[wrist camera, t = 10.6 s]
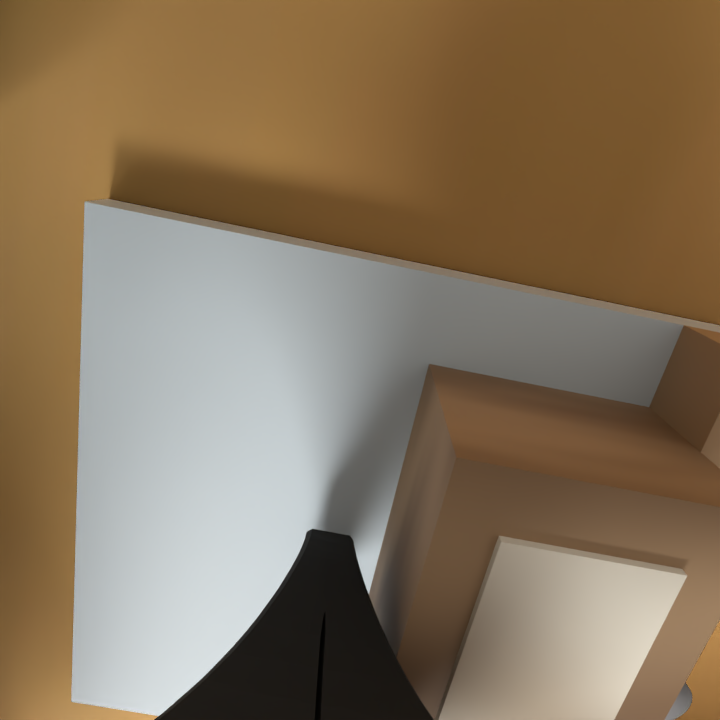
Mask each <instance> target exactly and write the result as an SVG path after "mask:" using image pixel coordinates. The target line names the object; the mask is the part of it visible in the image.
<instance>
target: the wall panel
mask: <svg viewBox="0 0 720 720" xmlns="http://www.w3.org/2000/svg"><path fill="white" fill-rule="evenodd" d="M429 364H433V365H438V366H443V367H448V368H453V369H458V370H463V371H468V372H473V373H478V374H483V375H488V376H493V377H499V378H504V379H509V380H514V381H519V382H524V383H529V384H534V385H539V386H544V387H549V388H554V389H559V390H565V391H570V392H575V393H580V394H585V395H590V396H595V397H600V398H605V399H610V400H615V401H620V402H625V403H630V404H636V405H641V406H646V407H649V408H651V409H652V410H653V411H654V412H655V413H656V414H657V415H659V416H660V417H661V418H662V419H663V420H664V421H665V422H667V423H668V424H669V425H670V426H671V427H672V428H674V429H675V430H676V431H677V432H678V433H679V434H680V435H682V436H683V437H684V438H685V439H686V440H687V441H688V442H690V443H691V444H692V445H693V446H694V447H695V448H697V449H698V450H699V451H700V452H701V453H702V454H703V455H705V456H706V457H707V458H708V459H709V460H710V461H711V462H713V463H714V464H715V465H716V466H717V467H718V468H720V325H716V324H711V323H706V322H701V321H697V320H692V319H687V318H682V317H677V316H672V315H668V314H663V313H658V312H653V311H648V310H643V309H639V308H634V307H629V306H624V305H619V304H614V303H610V302H605V301H600V300H595V299H590V298H585V297H581V296H576V295H571V294H566V293H561V292H556V291H552V290H547V289H542V288H537V287H532V286H527V285H523V284H518V283H513V282H508V281H503V280H498V279H494V278H489V277H484V276H479V275H474V274H469V273H465V272H460V271H455V270H450V269H445V268H440V267H436V266H431V265H426V264H421V263H416V262H411V261H407V260H402V259H397V258H392V257H387V256H382V255H378V254H373V253H368V252H363V251H358V250H353V249H349V248H344V247H339V246H334V245H329V244H324V243H320V242H315V241H310V240H305V239H300V238H295V237H291V236H286V235H281V234H276V233H271V232H266V231H262V230H257V229H252V228H247V227H242V226H237V225H233V224H228V223H223V222H218V221H213V220H208V219H204V218H199V217H194V216H189V215H184V214H179V213H175V212H170V211H165V210H160V209H155V208H150V207H146V206H141V205H136V204H131V203H126V202H121V201H117V200H112V199H101V200H93V201H85V208H84V245H83V283H82V320H81V358H80V395H79V433H78V470H77V508H76V545H75V583H74V620H73V658H72V695H71V702H76V703H82V704H88V705H94V706H100V707H107V708H113V709H119V710H125V711H131V712H137V713H144V714H150V715H156V716H160V715H161V714H162V713H163V712H164V711H166V710H167V709H168V708H169V707H170V706H171V705H172V704H174V703H175V702H176V701H177V700H178V699H179V698H180V697H182V696H183V695H184V694H185V693H186V692H187V691H188V690H190V689H191V688H192V687H193V686H194V685H195V684H196V683H197V682H199V681H200V680H201V679H202V678H203V677H204V676H205V675H206V674H207V673H208V672H209V671H210V670H211V669H212V668H213V667H214V666H215V665H216V664H217V663H218V662H219V661H220V660H221V659H222V657H223V656H224V655H225V654H226V653H227V652H228V651H229V650H230V649H231V648H232V647H233V646H234V645H235V644H236V642H237V641H238V640H239V639H240V638H241V637H242V636H243V634H244V633H245V632H246V631H247V630H248V628H249V627H250V626H251V625H252V623H253V622H254V621H255V620H256V618H257V617H258V616H259V615H260V613H261V612H262V610H263V609H264V608H265V606H266V605H267V604H268V602H269V601H270V599H271V598H272V597H273V595H274V594H275V593H276V591H277V590H278V588H279V586H280V585H281V583H282V582H283V580H284V578H285V577H286V575H287V574H288V572H289V570H290V569H291V567H292V565H293V563H294V561H295V560H296V558H297V556H298V554H299V552H300V550H301V547H302V545H303V542H304V540H305V536H306V532H307V531H309V530H311V529H317V530H322V531H328V532H333V533H339V534H344V535H350V536H351V538H352V539H353V541H354V547H355V551H356V556H357V560H358V563H359V567H360V570H361V573H362V577H363V580H364V583H365V586H366V589H367V591H368V594H369V592H370V588H371V584H372V580H373V576H374V573H375V569H376V565H377V561H378V557H379V553H380V550H381V546H382V542H383V538H384V534H385V530H386V527H387V523H388V519H389V515H390V511H391V507H392V504H393V500H394V496H395V492H396V488H397V485H398V481H399V477H400V473H401V469H402V465H403V462H404V458H405V454H406V450H407V446H408V442H409V439H410V435H411V431H412V427H413V423H414V419H415V416H416V412H417V408H418V404H419V400H420V397H421V393H422V389H423V385H424V381H425V377H426V374H427V370H428V366H429ZM691 703H692V693H691V691H690V689H689V687H688V686H687V684H686V682H685V684H684V686H683V687H682V689H681V691H680V693H679V695H678V696H677V698H676V700H675V702H674V704H673V705H672V707H671V709H670V711H669V713H668V714H667V716H666V718H665V720H674V719H676V718H678V717H680V716H681V715H683V714H684V713H685V712H686V711H687V710H688V708H689V707H690V705H691Z"/></svg>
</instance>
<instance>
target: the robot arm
mask: <svg viewBox="0 0 720 720" xmlns="http://www.w3.org/2000/svg"><path fill="white" fill-rule="evenodd" d="M155 720H434V719H433V717H432V716H431V715H430V713H429V712H428V710H427V709H426V707H425V706H424V704H423V703H422V701H421V700H420V698H419V696H418V695H417V693H416V691H415V690H414V688H413V686H412V685H411V683H410V681H409V680H408V678H407V676H406V674H405V673H404V671H403V669H402V667H401V665H400V664H399V662H398V660H397V658H396V656H395V654H394V652H393V650H392V648H391V646H390V644H389V642H388V640H387V637H386V635H385V633H384V631H383V629H382V626H381V624H380V622H379V620H378V617H377V615H376V612H375V610H374V607H373V605H372V602H371V599H370V597H369V594H368V591H367V589H366V586H365V583H364V580H363V577H362V573H361V570H360V567H359V563H358V560H357V556H356V551H355V547H354V541H353V539H352V538H351V536H350V535H344V534H339V533H333V532H328V531H322V530H317V529H311V530H309V531H307V532H306V536H305V540H304V542H303V545H302V547H301V550H300V552H299V554H298V556H297V558H296V560H295V561H294V563H293V565H292V567H291V569H290V570H289V572H288V574H287V575H286V577H285V578H284V580H283V582H282V583H281V585H280V586H279V588H278V590H277V591H276V593H275V594H274V595H273V597H272V598H271V599H270V601H269V602H268V604H267V605H266V606H265V608H264V609H263V610H262V612H261V613H260V615H259V616H258V617H257V618H256V620H255V621H254V622H253V623H252V625H251V626H250V627H249V628H248V630H247V631H246V632H245V633H244V634H243V636H242V637H241V638H240V639H239V640H238V641H237V642H236V644H235V645H234V646H233V647H232V648H231V649H230V650H229V651H228V652H227V653H226V654H225V655H224V656H223V657H222V659H221V660H220V661H219V662H218V663H217V664H216V665H215V666H214V667H213V668H212V669H211V670H210V671H209V672H208V673H207V674H206V675H205V676H204V677H203V678H202V679H201V680H200V681H199V682H197V683H196V684H195V685H194V686H193V687H192V688H191V689H190V690H188V691H187V692H186V693H185V694H184V695H183V696H182V697H180V698H179V699H178V700H177V701H176V702H175V703H174V704H172V705H171V706H170V707H169V708H168V709H167V710H166V711H164V712H163V713H162V714H161V715H160V716H158V717H157V718H156V719H155Z"/></svg>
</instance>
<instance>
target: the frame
mask: <svg viewBox="0 0 720 720" xmlns="http://www.w3.org/2000/svg"><path fill="white" fill-rule="evenodd" d="M369 597H370V599H371V602H372V605H373V607H374V610H375V612H376V615H377V617H378V620H379V622H380V624H381V626H382V629H383V631H384V633H385V635H386V637H387V640H388V642H389V644H390V646H391V648H392V650H393V652H394V654H395V656H396V658H397V660H398V662H399V664H400V665H401V667H402V669H403V671H404V673H405V674H406V676H407V678H408V680H409V681H410V683H411V685H412V686H413V688H414V690H415V691H416V693H417V695H418V696H419V698H420V700H421V701H422V703H423V704H424V706H425V707H426V709H427V710H428V712H429V713H430V715H431V716H432V717H433V719H434V720H665V718H666V716H667V714H668V713H669V711H670V709H671V707H672V705H673V704H674V702H675V700H676V698H677V696H678V695H679V693H680V691H681V689H682V687H683V686H684V684H685V682H686V680H687V678H688V677H689V675H690V673H691V671H692V669H693V667H694V666H695V664H696V662H697V660H698V658H699V657H700V655H701V653H702V651H703V649H704V648H705V646H706V644H707V642H708V640H709V639H710V637H711V635H712V633H713V631H714V629H715V628H716V626H717V624H718V622H719V620H720V468H718V467H717V466H716V465H715V464H714V463H713V462H711V461H710V460H709V459H708V458H707V457H706V456H705V455H703V454H702V453H701V452H700V451H699V450H698V449H697V448H695V447H694V446H693V445H692V444H691V443H690V442H688V441H687V440H686V439H685V438H684V437H683V436H682V435H680V434H679V433H678V432H677V431H676V430H675V429H674V428H672V427H671V426H670V425H669V424H668V423H667V422H665V421H664V420H663V419H662V418H661V417H660V416H659V415H657V414H656V413H655V412H654V411H653V410H652V409H651V408H649V407H646V406H641V405H636V404H630V403H625V402H620V401H615V400H610V399H605V398H600V397H595V396H590V395H585V394H580V393H575V392H570V391H565V390H559V389H554V388H549V387H544V386H539V385H534V384H529V383H524V382H519V381H514V380H509V379H504V378H499V377H493V376H488V375H483V374H478V373H473V372H468V371H463V370H458V369H453V368H448V367H443V366H438V365H433V364H429V366H428V370H427V374H426V377H425V381H424V385H423V389H422V393H421V397H420V400H419V404H418V408H417V412H416V416H415V419H414V423H413V427H412V431H411V435H410V439H409V442H408V446H407V450H406V454H405V458H404V462H403V465H402V469H401V473H400V477H399V481H398V485H397V488H396V492H395V496H394V500H393V504H392V507H391V511H390V515H389V519H388V523H387V527H386V530H385V534H384V538H383V542H382V546H381V550H380V553H379V557H378V561H377V565H376V569H375V573H374V576H373V580H372V584H371V588H370V592H369Z"/></svg>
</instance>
